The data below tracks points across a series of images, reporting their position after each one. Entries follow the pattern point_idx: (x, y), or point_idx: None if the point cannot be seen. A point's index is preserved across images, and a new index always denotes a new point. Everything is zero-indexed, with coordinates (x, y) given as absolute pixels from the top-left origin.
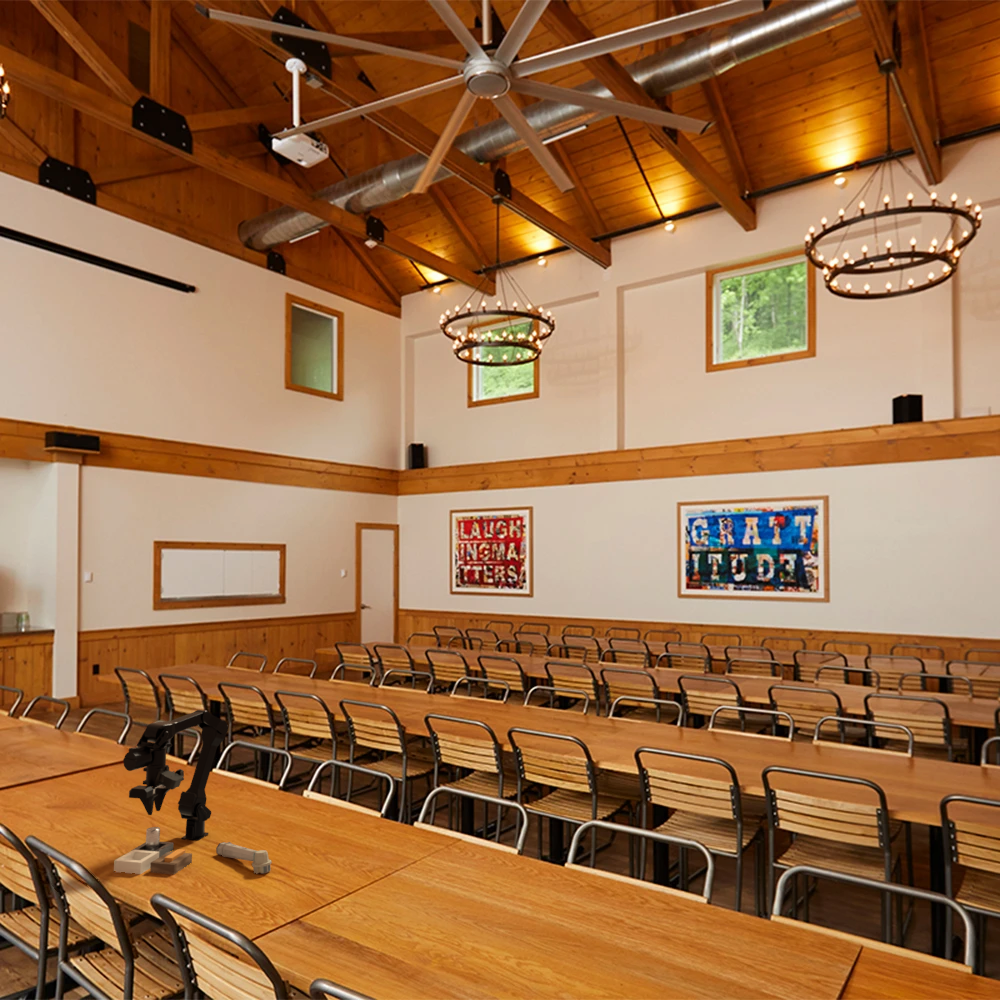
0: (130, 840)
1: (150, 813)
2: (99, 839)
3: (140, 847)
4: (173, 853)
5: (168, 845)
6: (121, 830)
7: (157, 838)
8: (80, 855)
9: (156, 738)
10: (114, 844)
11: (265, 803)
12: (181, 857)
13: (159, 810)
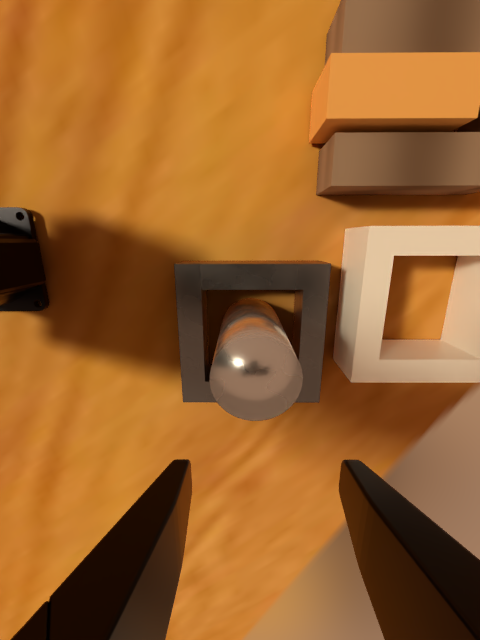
0: (134, 493)
1: (371, 481)
2: None
3: None
4: (405, 100)
5: (219, 265)
6: (60, 571)
7: (262, 320)
8: (305, 553)
9: None
10: None
11: None
12: (423, 24)
13: (186, 460)
